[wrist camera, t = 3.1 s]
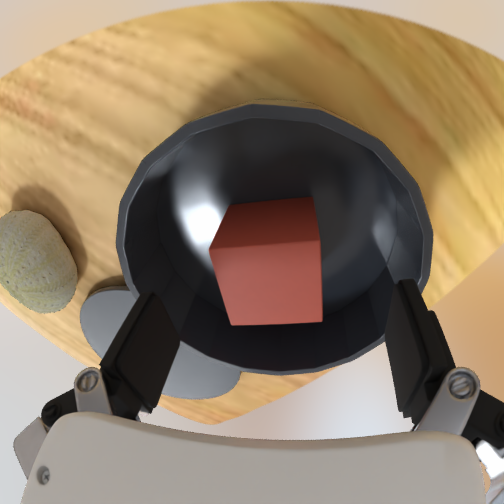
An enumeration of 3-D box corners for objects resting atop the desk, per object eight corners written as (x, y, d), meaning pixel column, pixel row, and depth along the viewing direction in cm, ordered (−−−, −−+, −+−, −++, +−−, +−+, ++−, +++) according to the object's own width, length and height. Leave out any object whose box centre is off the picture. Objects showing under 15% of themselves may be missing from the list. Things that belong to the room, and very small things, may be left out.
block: (243, 271, 17) (230, 325, 14) (228, 204, 15) (207, 249, 11) (317, 266, 16) (322, 322, 13) (313, 196, 14) (320, 240, 11)
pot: (140, 278, 20) (113, 322, 16) (191, 62, 11) (151, 56, 8) (325, 343, 21) (327, 393, 17) (444, 178, 13) (486, 214, 9)
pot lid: (91, 354, 27) (67, 399, 22) (80, 251, 19) (30, 309, 14) (217, 404, 29) (205, 455, 23) (270, 326, 20) (261, 407, 15)
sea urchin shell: (62, 325, 22) (-13, 325, 15) (53, 252, 24) (-14, 243, 18) (97, 287, 18) (-8, 281, 11) (86, 198, 21) (1, 179, 14)
